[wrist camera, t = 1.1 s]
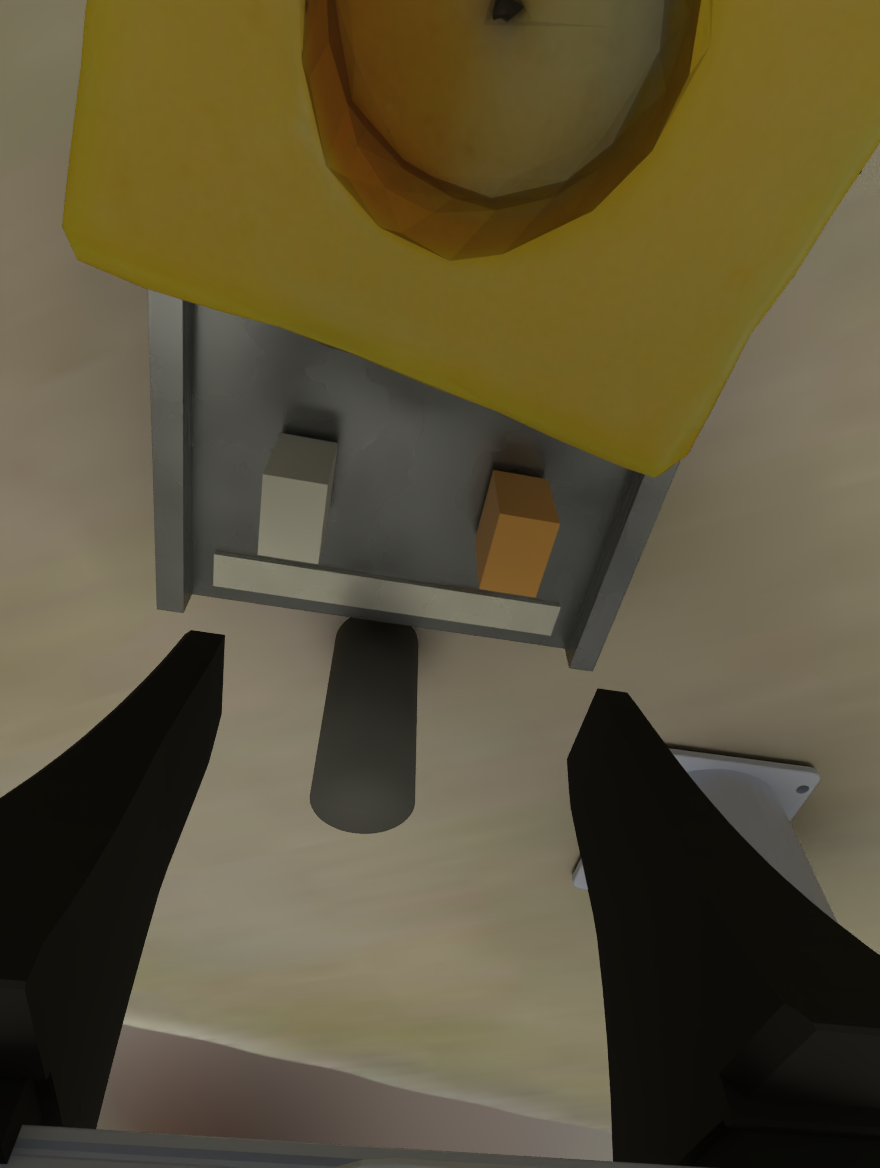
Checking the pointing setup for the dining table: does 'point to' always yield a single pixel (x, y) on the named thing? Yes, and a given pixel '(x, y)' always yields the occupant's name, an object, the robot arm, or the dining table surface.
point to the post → (368, 729)
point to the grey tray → (371, 489)
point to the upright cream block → (296, 498)
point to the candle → (482, 184)
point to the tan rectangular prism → (515, 534)
